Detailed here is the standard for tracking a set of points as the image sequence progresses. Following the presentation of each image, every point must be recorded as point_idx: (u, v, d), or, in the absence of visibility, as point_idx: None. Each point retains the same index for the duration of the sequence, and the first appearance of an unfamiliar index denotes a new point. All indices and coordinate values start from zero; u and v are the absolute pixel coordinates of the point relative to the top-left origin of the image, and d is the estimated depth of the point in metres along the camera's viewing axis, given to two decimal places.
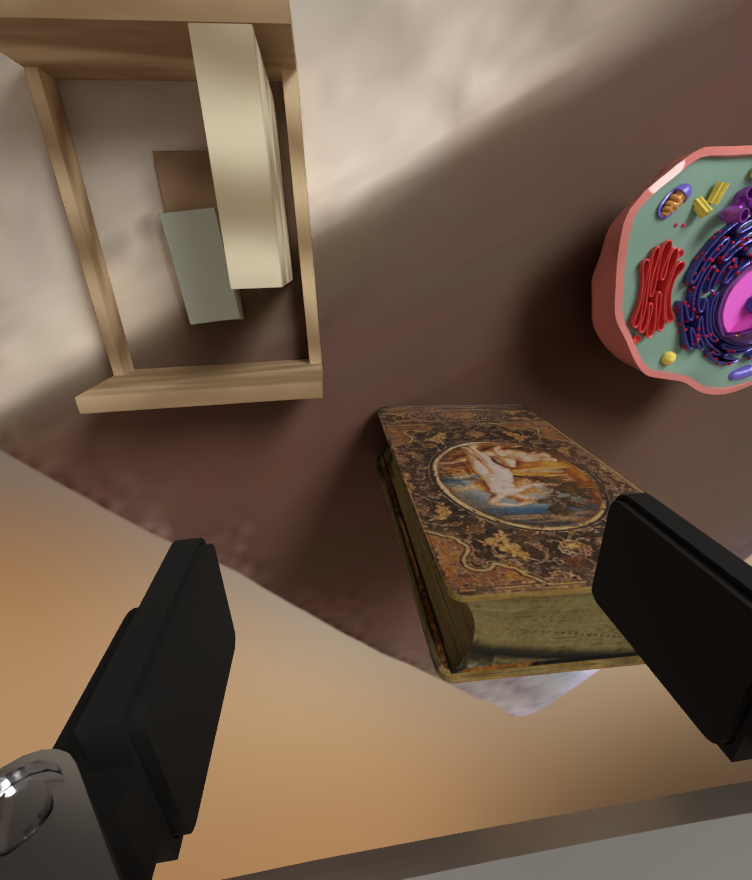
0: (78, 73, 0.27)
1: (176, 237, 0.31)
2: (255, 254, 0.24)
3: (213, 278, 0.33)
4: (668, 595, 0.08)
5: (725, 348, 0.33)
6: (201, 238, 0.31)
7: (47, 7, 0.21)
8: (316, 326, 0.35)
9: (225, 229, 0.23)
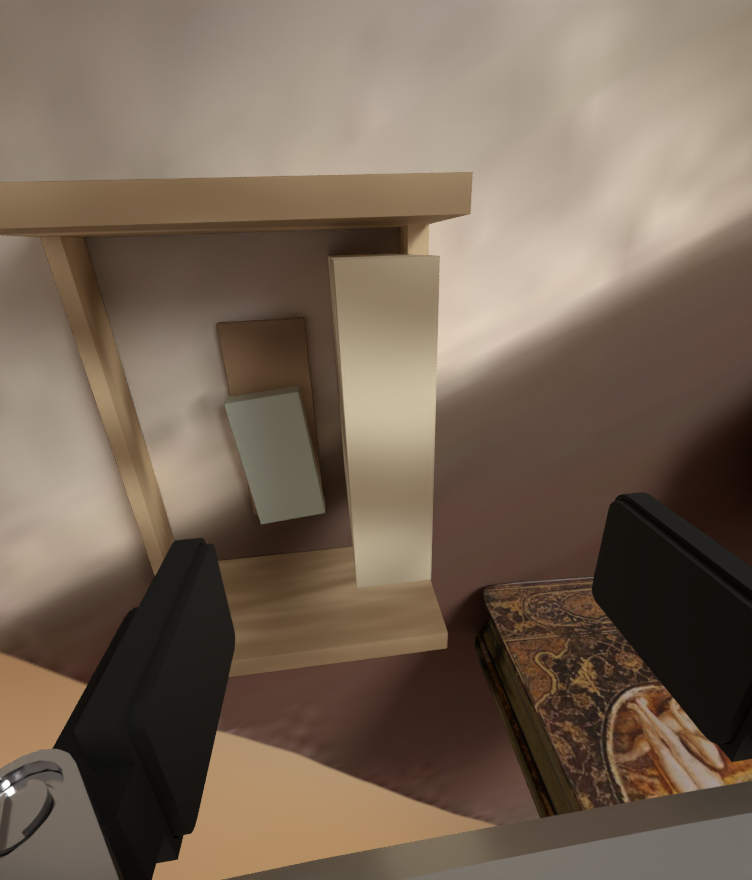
0: (118, 235, 0.19)
1: (246, 429, 0.23)
2: (397, 547, 0.16)
3: (293, 472, 0.24)
4: (668, 595, 0.08)
5: None
6: (279, 428, 0.23)
7: (85, 210, 0.13)
8: None
9: (358, 522, 0.15)
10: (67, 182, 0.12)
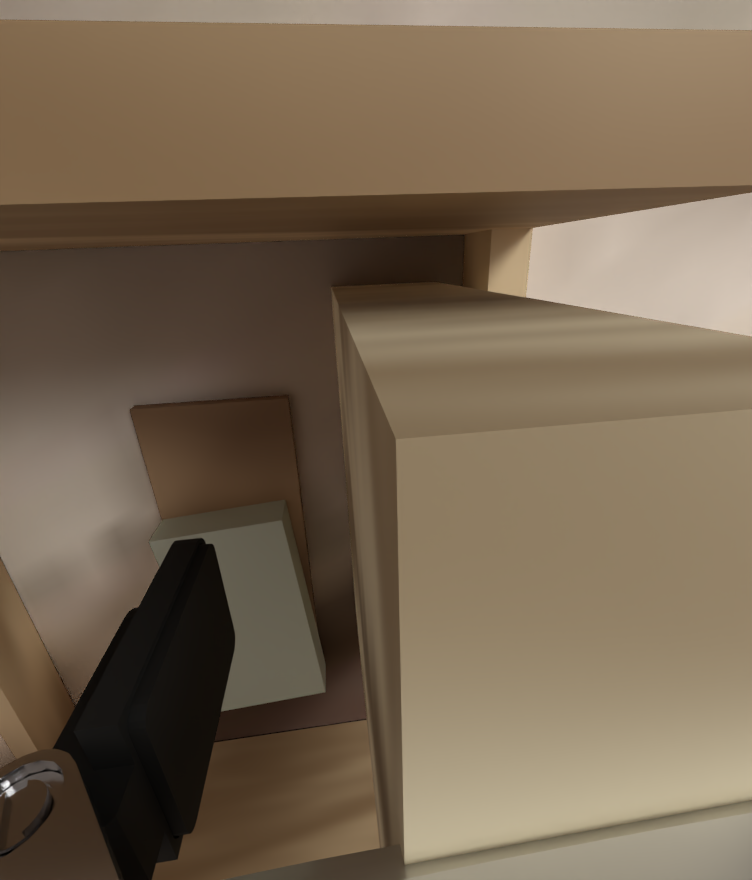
0: None
1: None
2: None
3: (273, 639, 0.14)
4: None
5: None
6: (248, 576, 0.13)
7: None
8: None
9: None
10: None
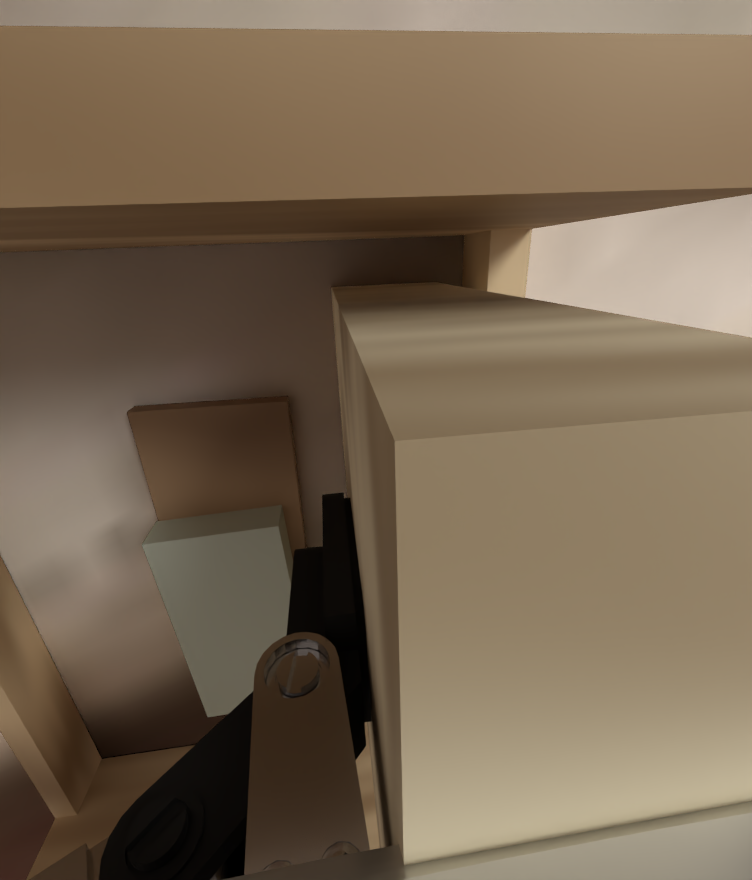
0: None
1: (184, 584, 0.13)
2: None
3: (264, 645, 0.14)
4: None
5: None
6: (241, 581, 0.13)
7: None
8: None
9: None
10: None
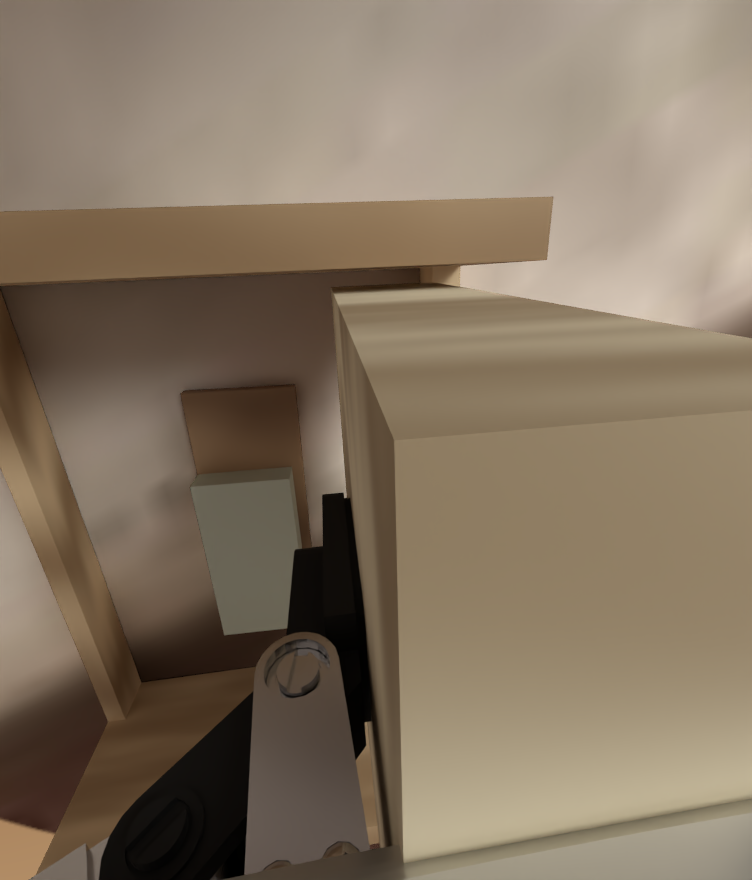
0: None
1: (216, 520, 0.17)
2: None
3: (272, 575, 0.19)
4: None
5: None
6: (259, 521, 0.18)
7: None
8: None
9: None
10: None
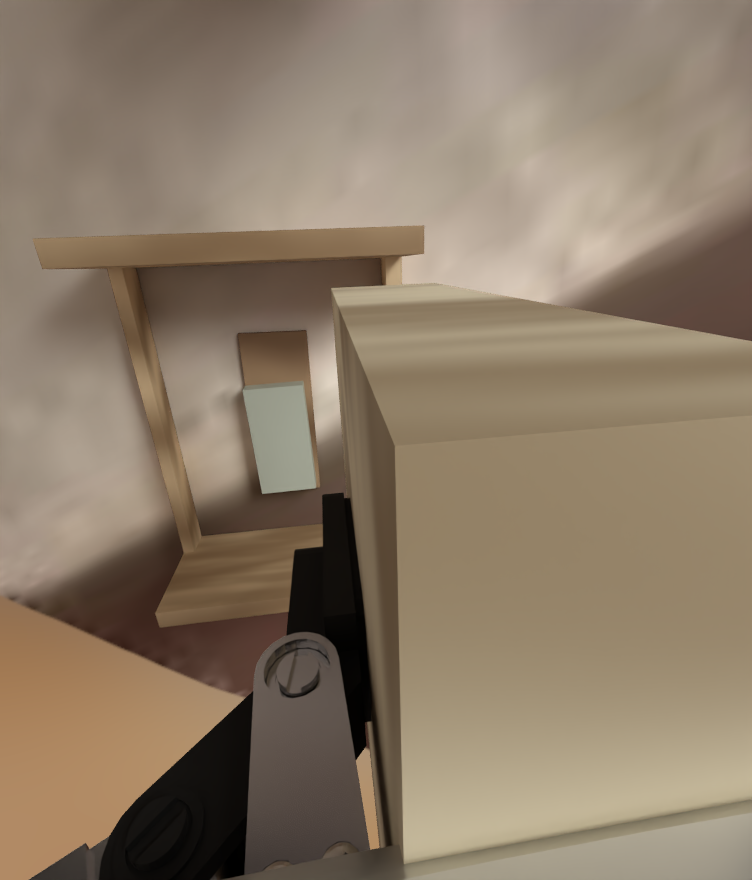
0: (163, 266, 0.25)
1: (258, 412, 0.28)
2: None
3: (292, 451, 0.30)
4: None
5: None
6: (284, 413, 0.29)
7: (156, 254, 0.18)
8: None
9: None
10: (145, 235, 0.18)
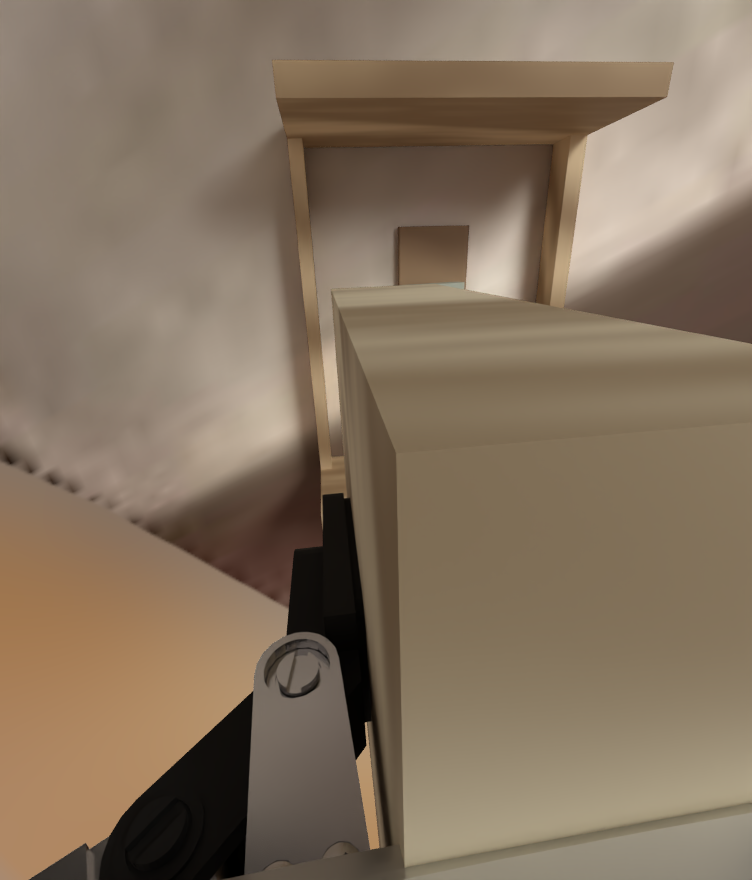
0: (338, 142, 0.23)
1: None
2: None
3: None
4: None
5: None
6: None
7: (395, 85, 0.17)
8: None
9: None
10: (388, 61, 0.17)
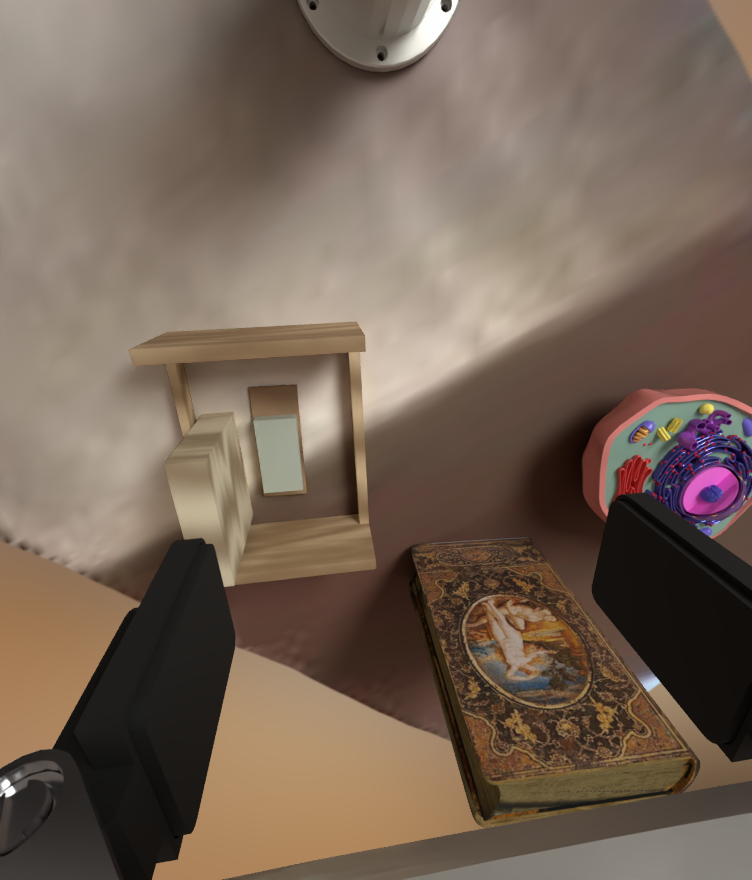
0: None
1: (263, 436, 0.40)
2: None
3: (287, 463, 0.42)
4: (668, 595, 0.08)
5: (686, 520, 0.42)
6: (282, 437, 0.41)
7: (201, 356, 0.31)
8: (366, 498, 0.44)
9: None
10: (195, 346, 0.30)
